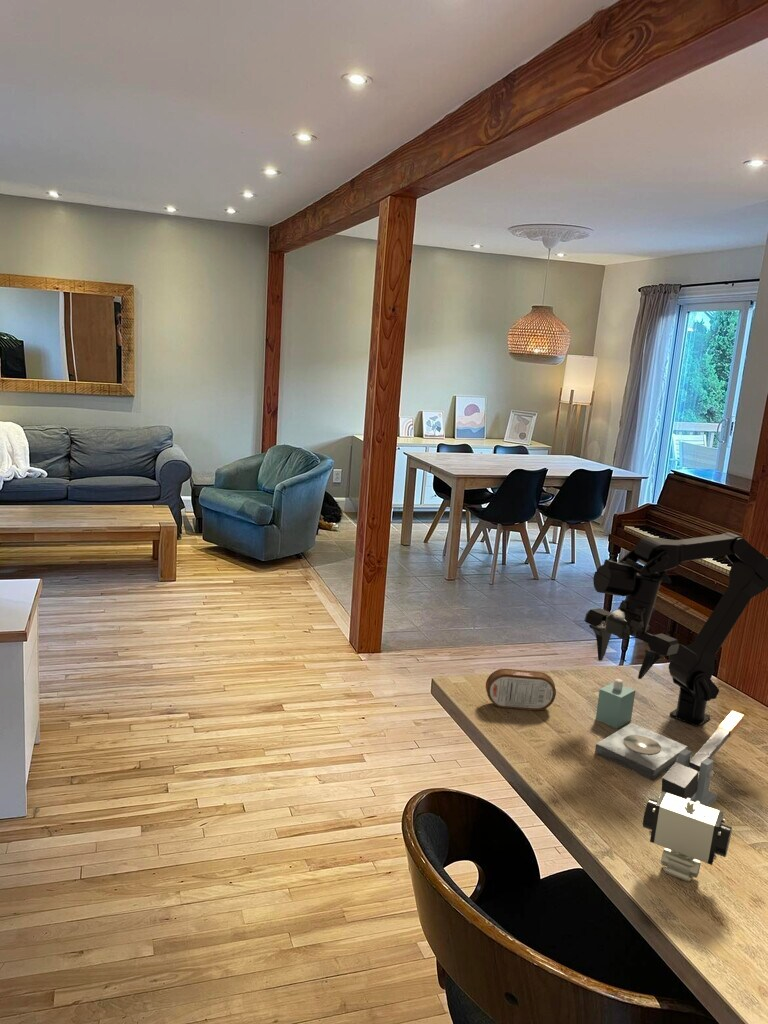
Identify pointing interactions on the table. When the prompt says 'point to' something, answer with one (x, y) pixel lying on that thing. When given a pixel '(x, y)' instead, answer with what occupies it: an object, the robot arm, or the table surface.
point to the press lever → (699, 760)
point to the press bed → (640, 750)
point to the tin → (520, 689)
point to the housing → (615, 704)
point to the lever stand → (700, 778)
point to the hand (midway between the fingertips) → (619, 669)
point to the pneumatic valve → (686, 833)
